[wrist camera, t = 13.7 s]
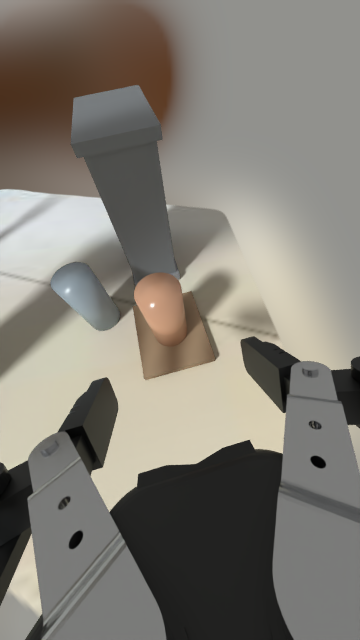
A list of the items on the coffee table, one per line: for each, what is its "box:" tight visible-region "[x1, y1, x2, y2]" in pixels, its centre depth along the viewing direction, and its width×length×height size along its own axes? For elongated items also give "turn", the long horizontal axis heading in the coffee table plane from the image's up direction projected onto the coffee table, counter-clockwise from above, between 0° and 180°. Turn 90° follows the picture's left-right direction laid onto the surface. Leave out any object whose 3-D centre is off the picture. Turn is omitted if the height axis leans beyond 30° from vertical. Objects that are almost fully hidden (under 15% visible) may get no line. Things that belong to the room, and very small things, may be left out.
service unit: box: [71, 85, 180, 287], centre depth 29 cm, size 8×14×20 cm, turn 14°
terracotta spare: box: [134, 272, 187, 347], centre depth 25 cm, size 5×5×10 cm
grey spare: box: [51, 262, 120, 331], centre depth 28 cm, size 5×5×10 cm
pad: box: [133, 291, 215, 380], centre depth 29 cm, size 10×12×1 cm
